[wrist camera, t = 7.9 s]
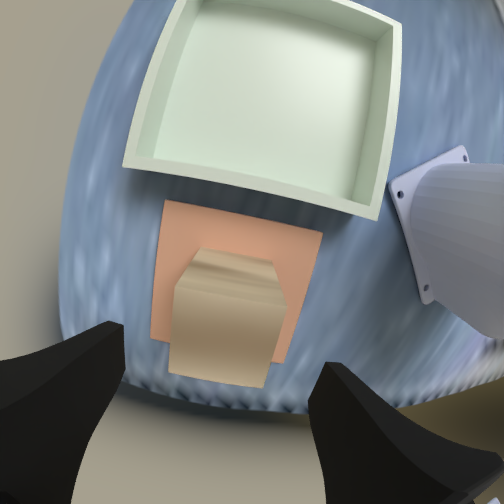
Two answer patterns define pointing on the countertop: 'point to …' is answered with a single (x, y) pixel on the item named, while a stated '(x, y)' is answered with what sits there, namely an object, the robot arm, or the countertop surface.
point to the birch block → (226, 318)
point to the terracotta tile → (236, 241)
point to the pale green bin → (274, 99)
